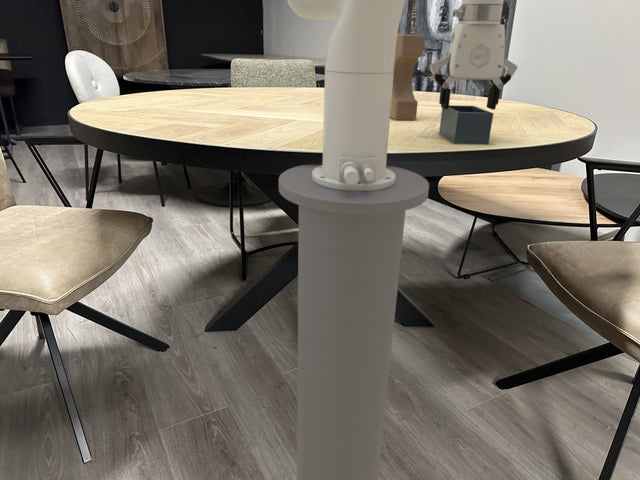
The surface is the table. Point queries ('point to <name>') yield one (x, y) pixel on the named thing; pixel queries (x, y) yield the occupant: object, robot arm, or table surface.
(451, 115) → the box
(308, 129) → the table surface
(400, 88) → the decorative block
